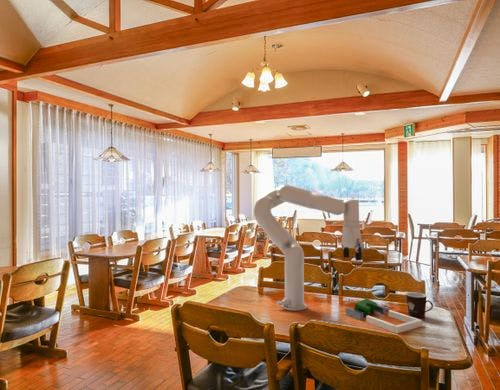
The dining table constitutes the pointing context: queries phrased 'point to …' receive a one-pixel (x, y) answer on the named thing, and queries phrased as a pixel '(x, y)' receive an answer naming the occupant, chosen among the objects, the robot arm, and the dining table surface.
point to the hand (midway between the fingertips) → (352, 258)
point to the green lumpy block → (366, 306)
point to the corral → (403, 327)
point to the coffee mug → (417, 304)
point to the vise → (359, 314)
